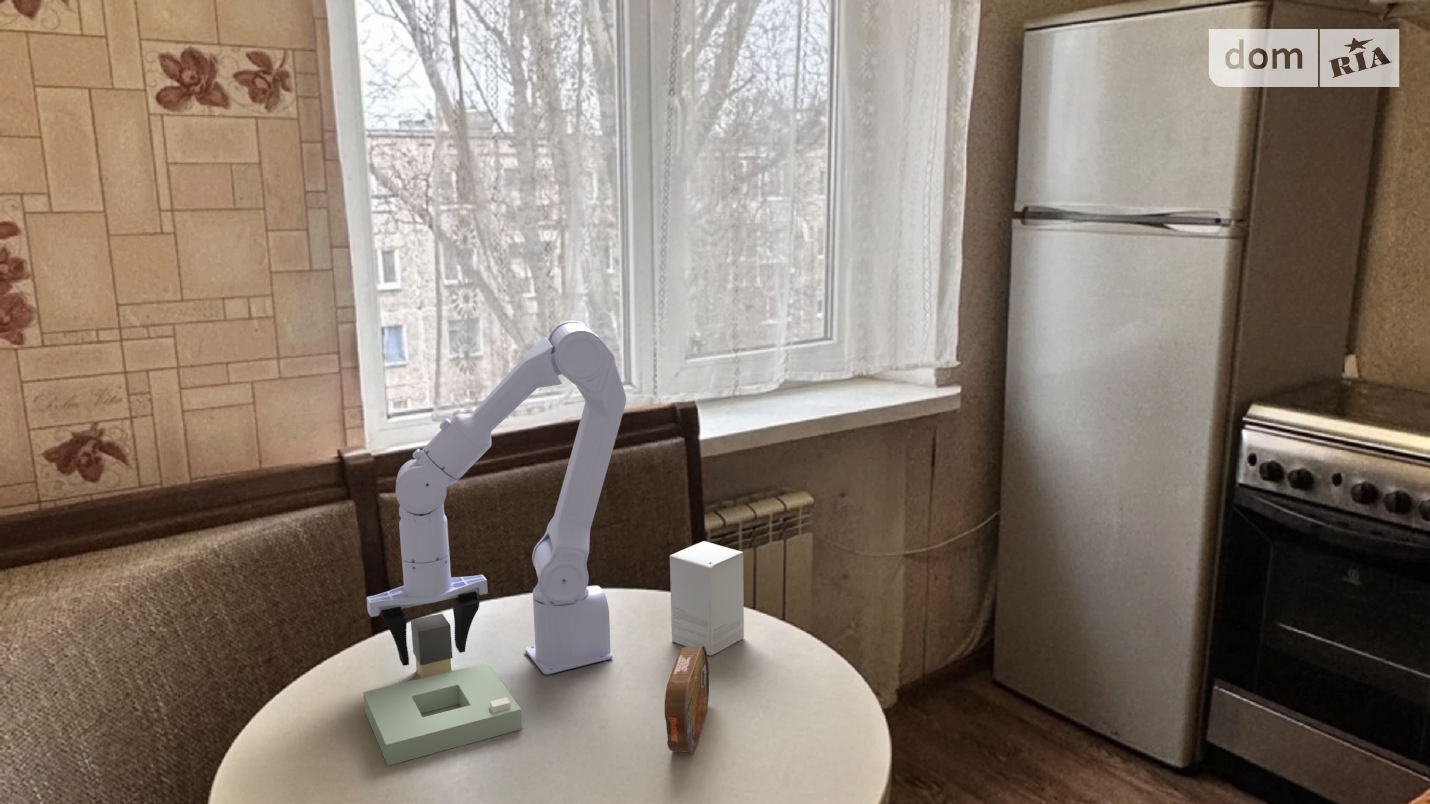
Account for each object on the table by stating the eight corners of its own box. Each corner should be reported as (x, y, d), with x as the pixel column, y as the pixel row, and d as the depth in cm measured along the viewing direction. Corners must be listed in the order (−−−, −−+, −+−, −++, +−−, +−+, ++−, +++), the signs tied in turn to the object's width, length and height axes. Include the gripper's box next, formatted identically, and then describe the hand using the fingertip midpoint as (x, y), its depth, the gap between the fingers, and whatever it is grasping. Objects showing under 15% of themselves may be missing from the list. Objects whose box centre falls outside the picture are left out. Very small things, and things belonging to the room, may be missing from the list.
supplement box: (745, 638, 137) (745, 551, 134) (710, 657, 132) (709, 567, 129) (705, 623, 142) (704, 539, 139) (669, 641, 136) (668, 554, 134)
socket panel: (488, 680, 126) (487, 657, 125) (522, 728, 115) (520, 703, 114) (364, 711, 119) (362, 686, 118) (387, 765, 108) (385, 738, 107)
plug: (445, 663, 130) (442, 613, 129) (453, 676, 127) (450, 625, 126) (414, 670, 129) (410, 620, 127) (421, 683, 125) (417, 632, 124)
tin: (690, 768, 107) (689, 696, 105) (661, 766, 107) (660, 694, 106) (711, 698, 121) (711, 634, 120) (685, 696, 122) (685, 632, 120)
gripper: (474, 535, 131) (479, 631, 134) (359, 555, 124) (367, 656, 127) (490, 552, 125) (495, 652, 128) (369, 574, 118) (378, 679, 121)
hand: (432, 655), depth 127 cm, fingers open, 6 cm apart
